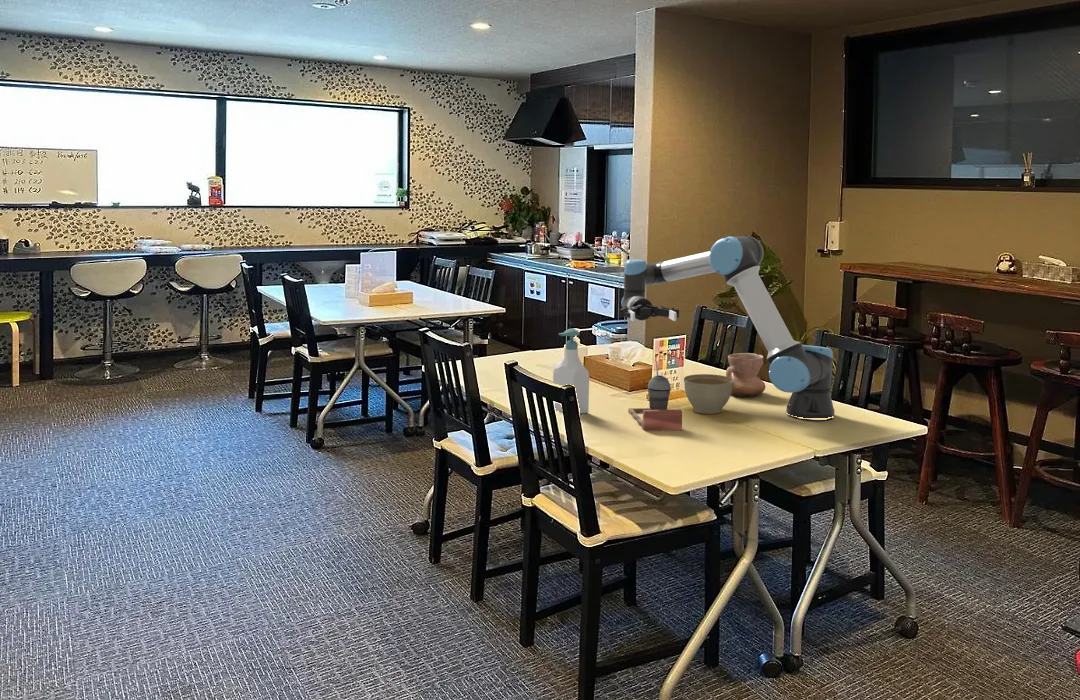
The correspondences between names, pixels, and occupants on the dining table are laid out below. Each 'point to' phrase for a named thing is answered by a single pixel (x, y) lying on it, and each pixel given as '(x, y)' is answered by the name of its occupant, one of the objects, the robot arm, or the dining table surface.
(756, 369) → the ceramic jug
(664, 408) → the beverage cup
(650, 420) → the brown tray
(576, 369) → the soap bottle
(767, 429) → the dining table surface
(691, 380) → the planter bowl
